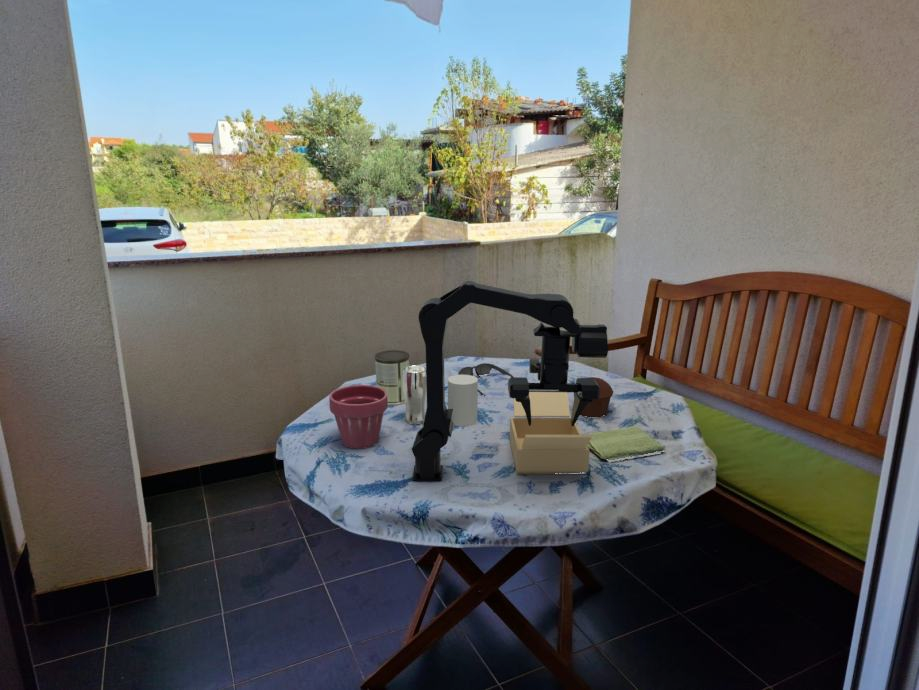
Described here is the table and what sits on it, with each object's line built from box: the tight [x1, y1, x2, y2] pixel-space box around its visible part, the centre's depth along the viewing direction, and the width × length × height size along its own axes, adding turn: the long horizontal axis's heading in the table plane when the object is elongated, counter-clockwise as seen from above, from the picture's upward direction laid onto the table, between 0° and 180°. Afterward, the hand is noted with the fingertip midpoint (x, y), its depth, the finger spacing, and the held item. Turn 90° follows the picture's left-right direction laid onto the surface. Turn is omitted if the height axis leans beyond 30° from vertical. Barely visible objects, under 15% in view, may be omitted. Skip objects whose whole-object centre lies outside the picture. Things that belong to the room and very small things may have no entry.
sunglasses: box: [457, 362, 514, 397], centre depth 180 cm, size 16×17×5 cm
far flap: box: [512, 392, 571, 418], centre depth 141 cm, size 7×14×1 cm
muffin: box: [572, 376, 614, 418], centre depth 158 cm, size 12×11×10 cm
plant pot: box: [329, 384, 389, 450], centre depth 139 cm, size 14×14×13 cm
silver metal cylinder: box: [402, 364, 427, 426], centre depth 151 cm, size 7×7×15 cm
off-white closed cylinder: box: [447, 374, 479, 427], centre depth 152 cm, size 8×8×12 cm
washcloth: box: [586, 425, 666, 460], centre depth 137 cm, size 13×18×3 cm
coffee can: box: [374, 349, 410, 406], centre depth 167 cm, size 10×10×14 cm
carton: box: [509, 417, 591, 475], centre depth 132 cm, size 18×16×6 cm
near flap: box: [522, 434, 592, 449], centre depth 120 cm, size 7×14×1 cm
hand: (550, 425), depth 119 cm, fingers open, 9 cm apart
